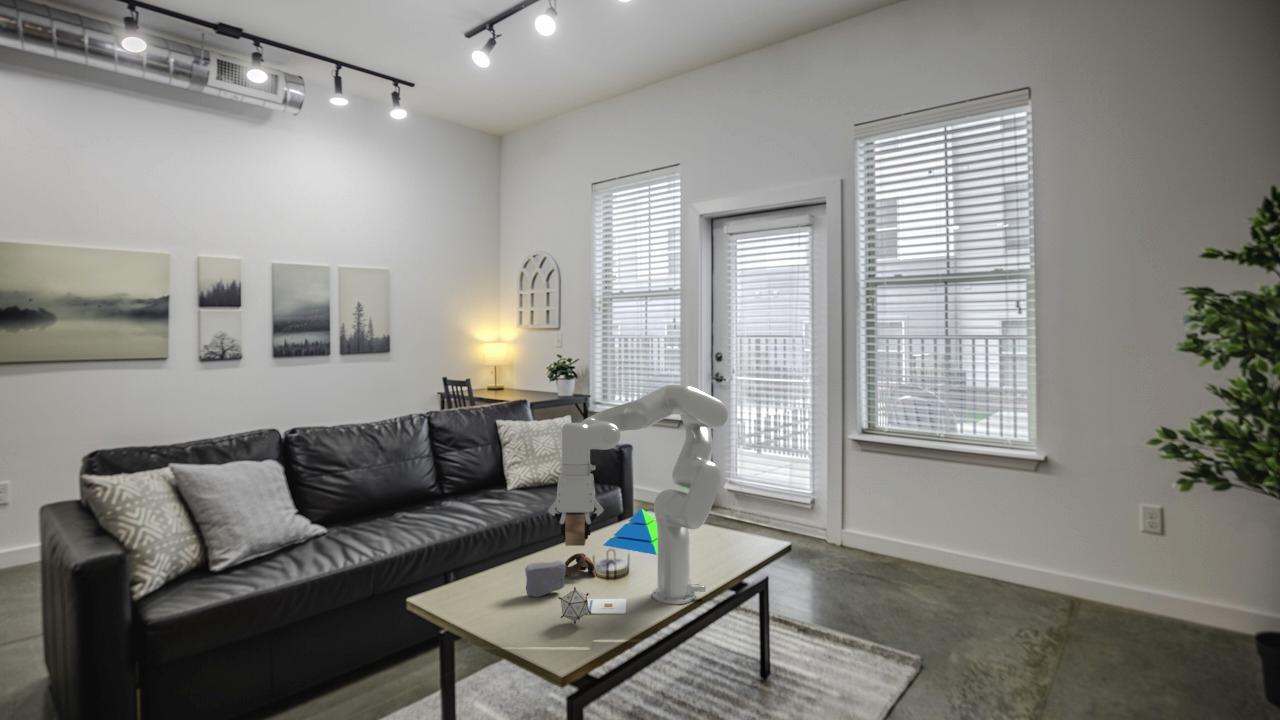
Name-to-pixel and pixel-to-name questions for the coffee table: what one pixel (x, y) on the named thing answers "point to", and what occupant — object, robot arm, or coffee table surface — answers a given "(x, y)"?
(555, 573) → the stone block
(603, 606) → the white picture card
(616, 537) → the pyramid toy
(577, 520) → the walnut block
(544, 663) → the coffee table surface
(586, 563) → the brown arched sculpture
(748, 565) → the coffee table surface
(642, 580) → the coffee table surface
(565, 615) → the game die
